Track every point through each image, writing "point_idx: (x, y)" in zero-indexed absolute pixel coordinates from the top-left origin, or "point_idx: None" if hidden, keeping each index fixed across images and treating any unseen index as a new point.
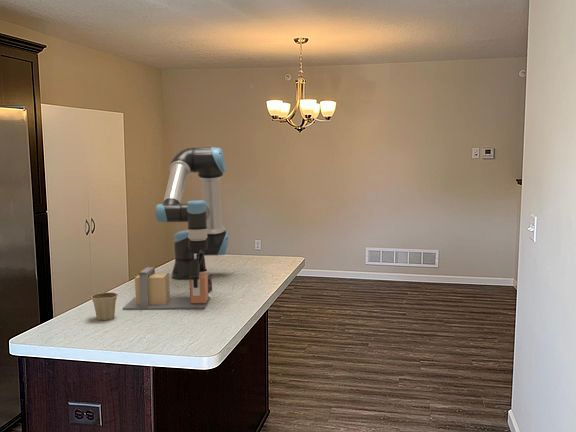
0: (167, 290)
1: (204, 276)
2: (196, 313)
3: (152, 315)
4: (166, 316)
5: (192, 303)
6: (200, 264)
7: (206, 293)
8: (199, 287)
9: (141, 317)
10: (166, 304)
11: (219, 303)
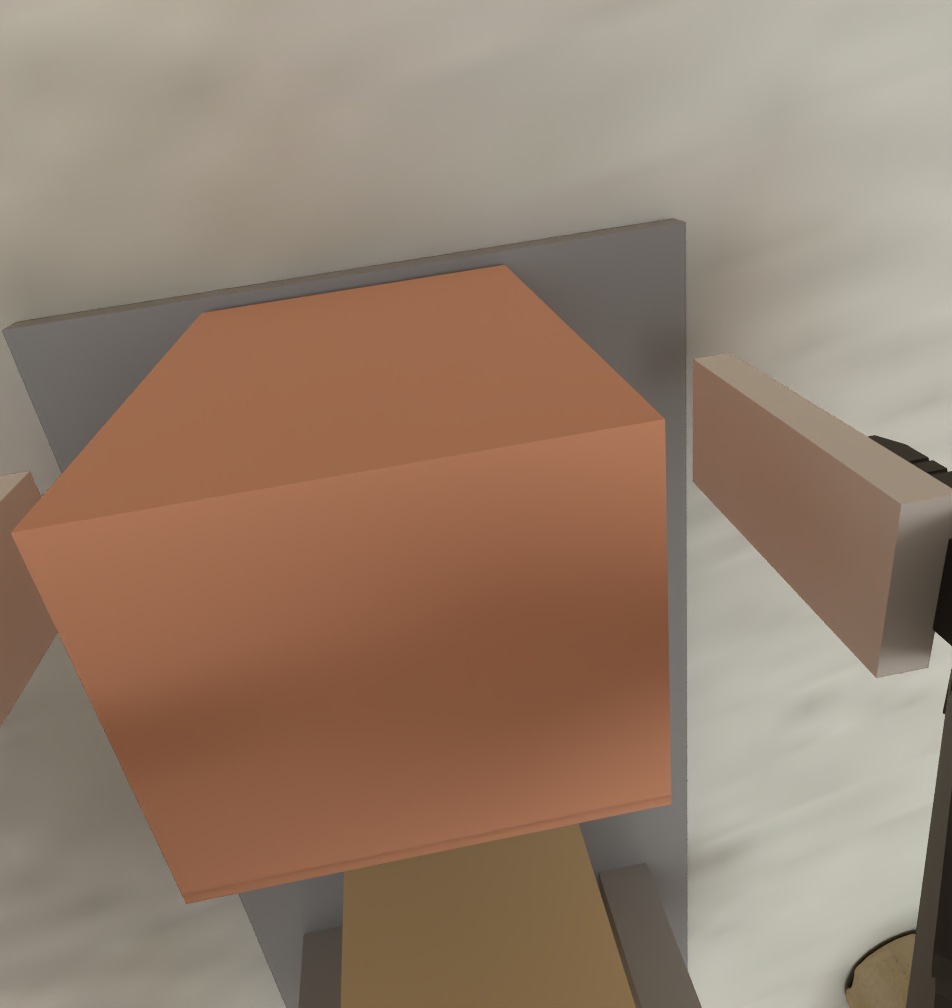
0: (479, 905)
1: (521, 475)
2: (876, 270)
3: (884, 714)
4: None
5: None
6: (938, 983)
7: (370, 317)
8: (803, 407)
9: (935, 769)
10: None
11: (278, 44)
